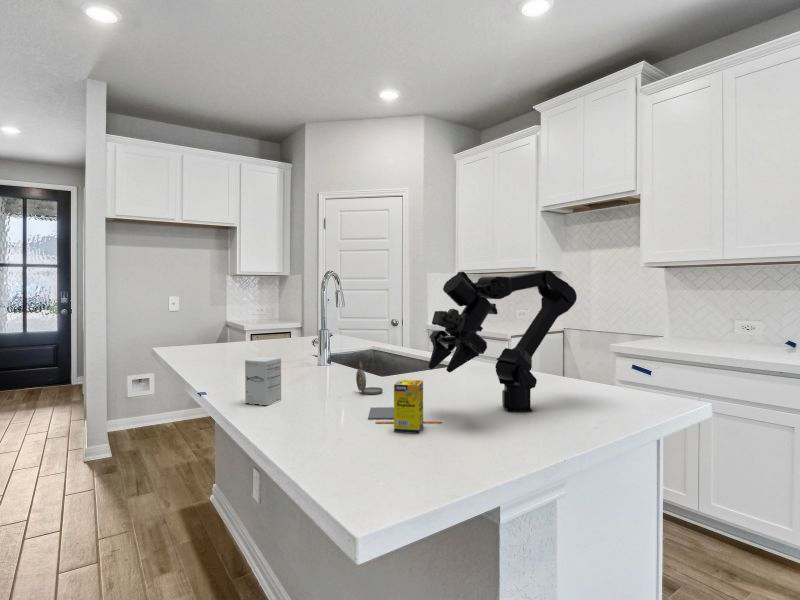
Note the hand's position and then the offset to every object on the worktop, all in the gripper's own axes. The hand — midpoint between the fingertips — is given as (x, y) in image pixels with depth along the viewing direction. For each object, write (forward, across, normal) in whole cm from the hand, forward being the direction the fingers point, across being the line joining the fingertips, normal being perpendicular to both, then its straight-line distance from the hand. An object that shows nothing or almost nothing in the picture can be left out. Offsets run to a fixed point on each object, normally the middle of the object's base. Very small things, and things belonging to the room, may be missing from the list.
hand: (438, 369), depth 114 cm
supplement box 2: (+16, 0, +2) cm, 16 cm away
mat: (+14, -13, +2) cm, 19 cm away
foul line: (+14, -4, +3) cm, 15 cm away
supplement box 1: (+30, -40, -21) cm, 54 cm away
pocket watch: (+11, -38, +3) cm, 40 cm away
